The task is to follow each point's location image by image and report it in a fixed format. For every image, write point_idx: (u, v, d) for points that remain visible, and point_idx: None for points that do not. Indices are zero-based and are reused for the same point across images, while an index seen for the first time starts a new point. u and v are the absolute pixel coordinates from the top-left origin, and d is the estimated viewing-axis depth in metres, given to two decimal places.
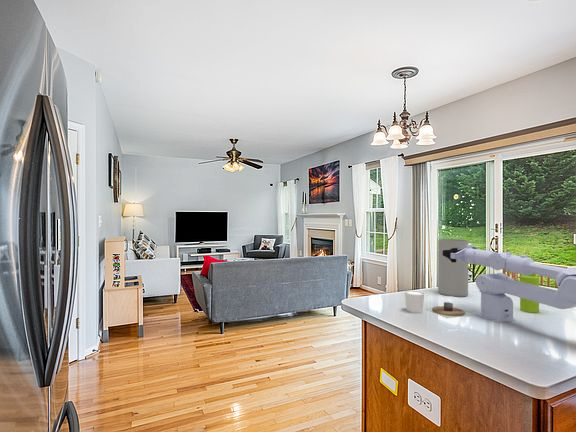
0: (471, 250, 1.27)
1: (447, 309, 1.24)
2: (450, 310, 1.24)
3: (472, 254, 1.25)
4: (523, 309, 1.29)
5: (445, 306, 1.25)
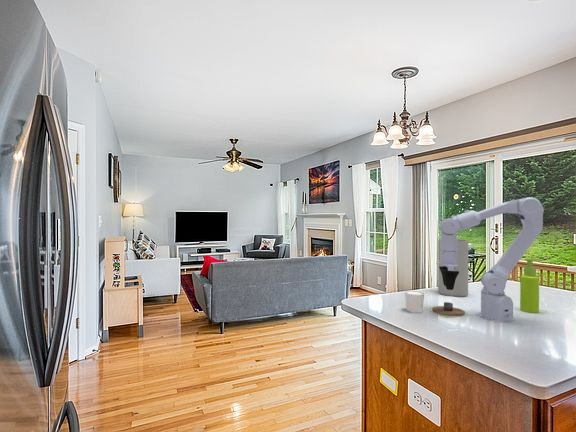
0: (442, 256, 1.25)
1: (447, 309, 1.24)
2: (450, 310, 1.24)
3: (446, 252, 1.23)
4: (523, 309, 1.29)
5: (445, 306, 1.25)
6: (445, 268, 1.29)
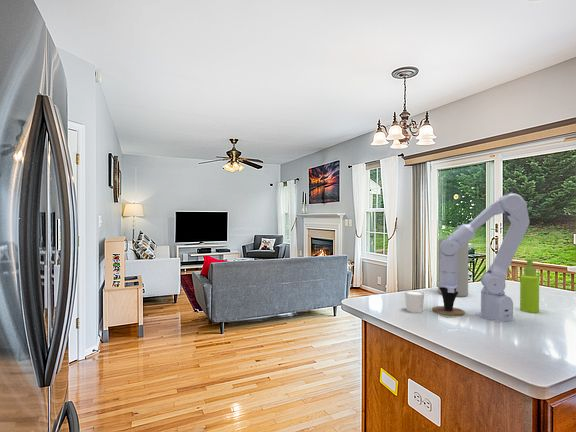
0: (442, 277, 1.25)
1: None
2: (450, 310, 1.24)
3: (446, 274, 1.23)
4: (523, 309, 1.29)
5: None
6: (446, 289, 1.27)
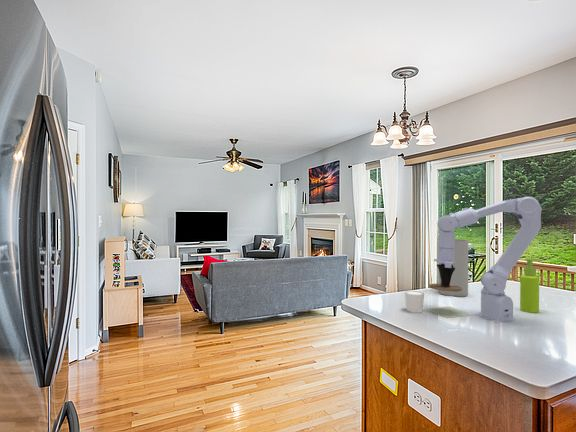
0: (439, 253, 1.25)
1: None
2: (447, 286, 1.24)
3: (443, 250, 1.24)
4: (523, 309, 1.29)
5: None
6: (443, 266, 1.28)
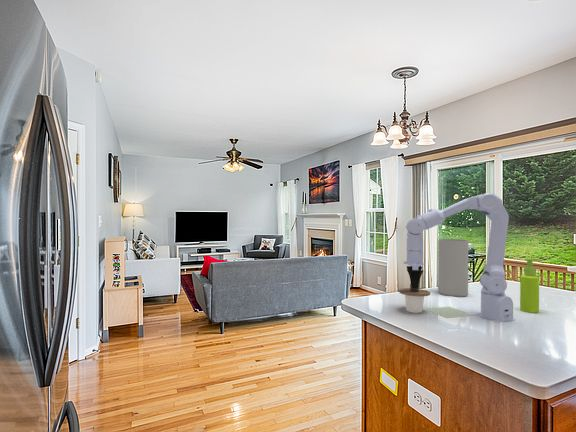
0: (408, 256, 1.27)
1: (413, 290, 1.26)
2: (416, 291, 1.26)
3: (411, 252, 1.25)
4: (523, 309, 1.29)
5: (411, 287, 1.27)
6: None
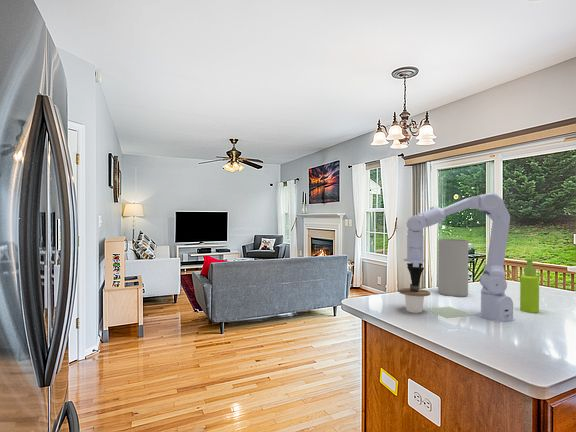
0: (408, 253, 1.26)
1: (413, 290, 1.26)
2: (416, 291, 1.26)
3: (412, 249, 1.25)
4: (523, 309, 1.29)
5: (411, 287, 1.27)
6: (412, 265, 1.31)
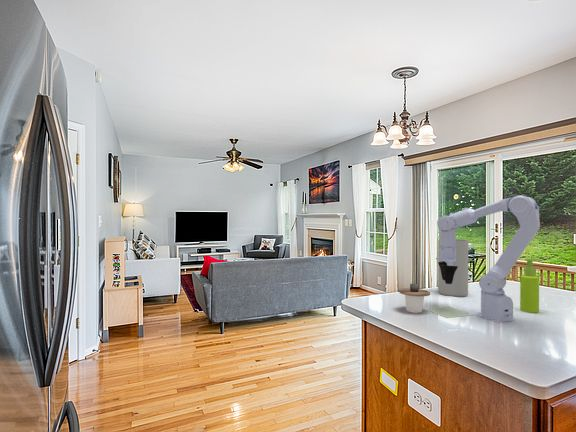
0: (441, 252, 1.30)
1: (413, 290, 1.26)
2: (416, 291, 1.26)
3: (445, 248, 1.29)
4: (523, 309, 1.29)
5: (411, 287, 1.27)
6: (444, 263, 1.35)
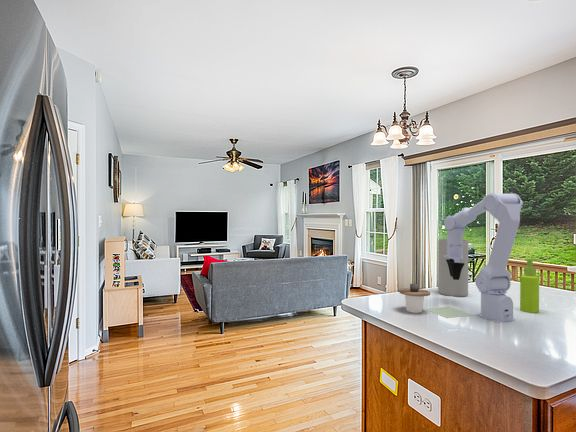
0: (449, 250, 1.39)
1: (413, 290, 1.26)
2: (416, 291, 1.26)
3: (453, 246, 1.38)
4: (523, 309, 1.29)
5: (411, 287, 1.27)
6: (451, 261, 1.44)
